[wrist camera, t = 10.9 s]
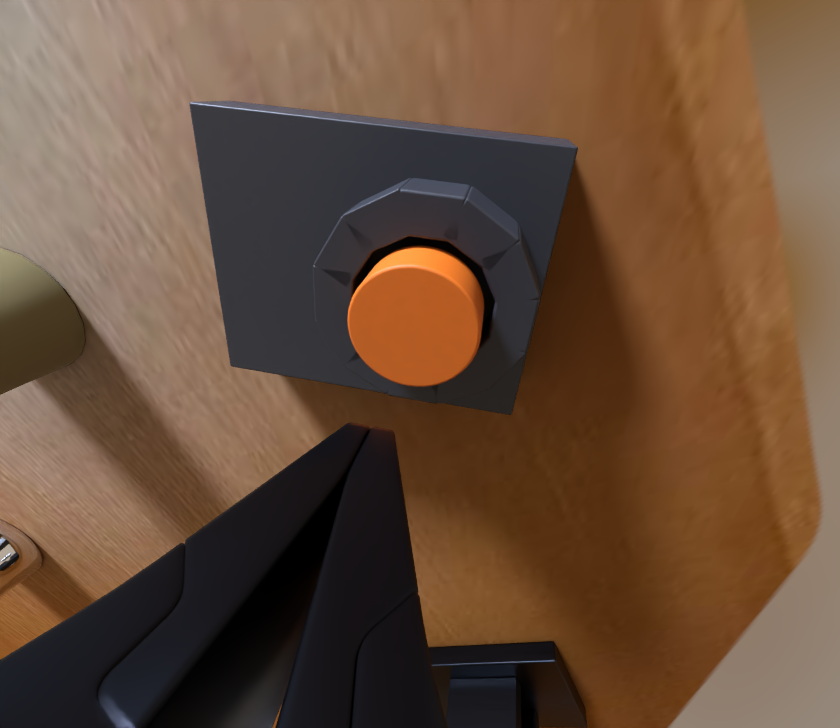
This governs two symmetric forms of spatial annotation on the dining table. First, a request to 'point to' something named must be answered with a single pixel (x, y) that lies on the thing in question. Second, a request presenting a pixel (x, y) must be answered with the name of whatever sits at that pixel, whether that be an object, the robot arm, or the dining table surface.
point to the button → (417, 316)
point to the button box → (372, 234)
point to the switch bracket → (506, 686)
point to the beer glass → (16, 557)
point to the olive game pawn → (34, 323)
